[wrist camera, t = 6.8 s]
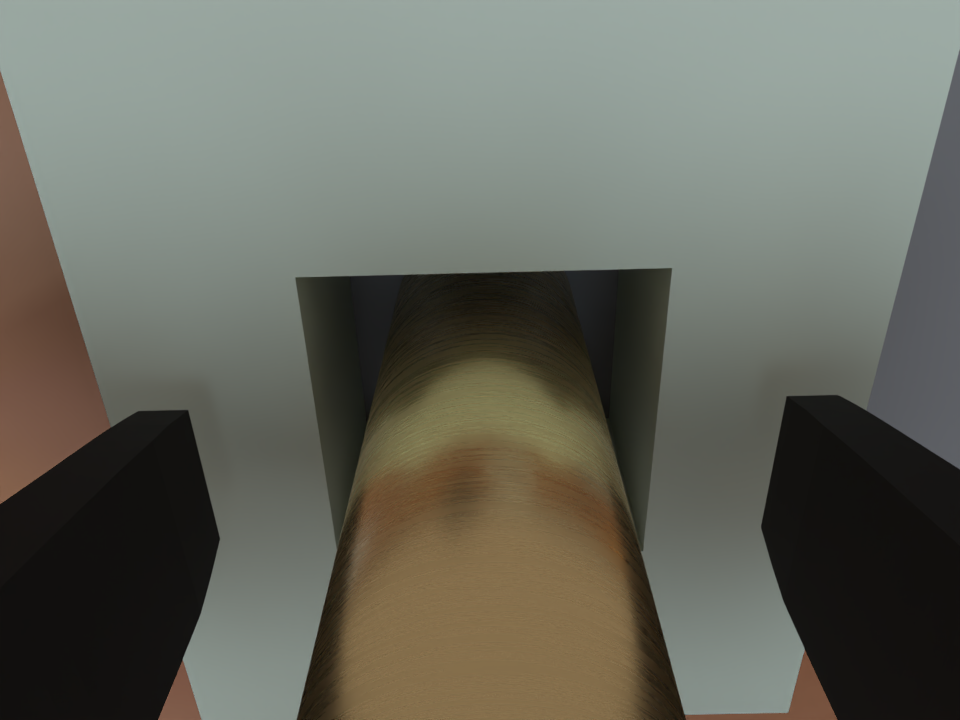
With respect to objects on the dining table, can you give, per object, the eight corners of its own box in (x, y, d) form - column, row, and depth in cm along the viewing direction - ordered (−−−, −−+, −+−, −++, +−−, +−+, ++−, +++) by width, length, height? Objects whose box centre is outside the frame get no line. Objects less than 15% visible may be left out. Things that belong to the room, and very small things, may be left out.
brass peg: (570, 385, 14) (722, 1113, 5) (403, 388, 14) (275, 1119, 5) (575, 223, 13) (789, 842, 4) (390, 228, 13) (188, 853, 4)
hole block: (731, 564, 17) (788, 713, 13) (253, 574, 17) (203, 723, 14) (848, -101, 11) (999, -103, 8) (104, -79, 11) (-44, -74, 8)
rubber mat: (1113, 606, 18) (1129, 623, 17) (229, 624, 18) (223, 641, 18) (1535, -207, 10) (1581, -213, 10) (26, -163, 11) (6, -166, 10)
